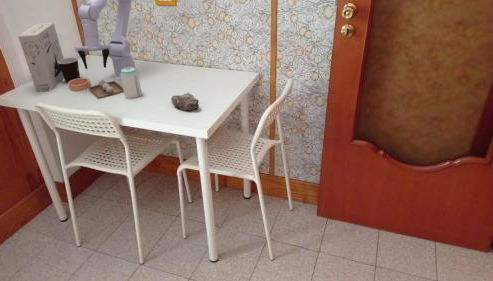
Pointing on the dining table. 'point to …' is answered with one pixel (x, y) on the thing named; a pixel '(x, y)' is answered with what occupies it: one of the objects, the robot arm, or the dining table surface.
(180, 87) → the dining table surface
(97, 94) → the tray
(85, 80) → the bowl
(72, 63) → the coffee mug
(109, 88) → the pebble
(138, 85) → the can
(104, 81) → the pebble
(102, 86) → the white ball
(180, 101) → the mineral rock
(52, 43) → the cereal box
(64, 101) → the dining table surface
